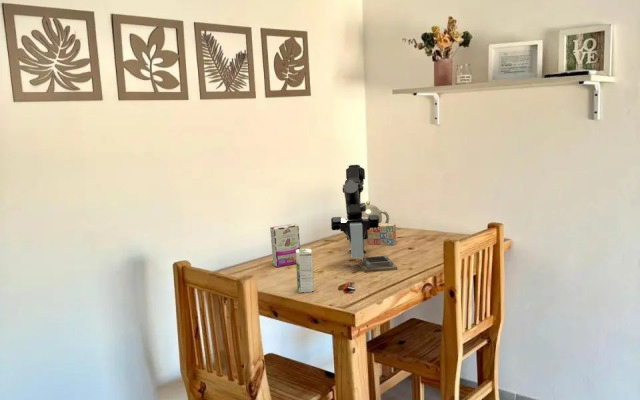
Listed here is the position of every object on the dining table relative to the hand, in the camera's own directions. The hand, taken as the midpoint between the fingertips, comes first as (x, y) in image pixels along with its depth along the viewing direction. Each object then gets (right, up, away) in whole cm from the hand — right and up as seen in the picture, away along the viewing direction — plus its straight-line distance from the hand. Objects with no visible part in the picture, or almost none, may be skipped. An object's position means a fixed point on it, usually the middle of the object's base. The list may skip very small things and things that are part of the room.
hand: (356, 240), depth 226 cm
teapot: (+12, -1, +71) cm, 72 cm away
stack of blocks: (+10, -5, +48) cm, 49 cm away
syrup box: (-19, -16, -19) cm, 32 cm away
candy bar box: (-28, -11, +18) cm, 35 cm away
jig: (+9, -11, +7) cm, 15 cm away
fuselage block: (0, -6, +2) cm, 7 cm away
